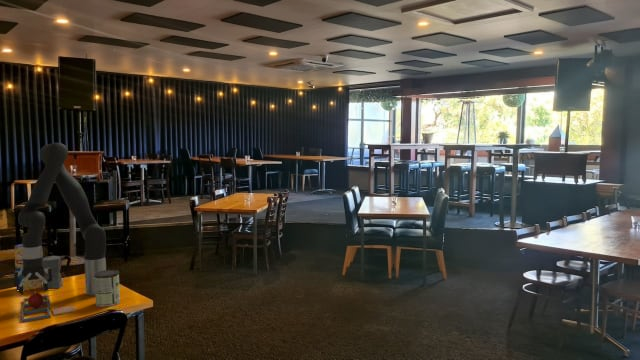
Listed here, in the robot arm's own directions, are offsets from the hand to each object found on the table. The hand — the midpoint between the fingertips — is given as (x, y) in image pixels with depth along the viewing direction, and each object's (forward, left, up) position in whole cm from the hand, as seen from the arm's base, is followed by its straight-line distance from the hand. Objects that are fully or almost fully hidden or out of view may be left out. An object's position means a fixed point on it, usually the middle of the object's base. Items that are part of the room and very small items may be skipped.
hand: (33, 293), depth 209 cm
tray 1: (+3, -10, -7) cm, 12 cm away
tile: (-14, +5, -7) cm, 16 cm away
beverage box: (+16, -34, -7) cm, 38 cm away
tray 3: (-5, +10, -7) cm, 13 cm away
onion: (-1, 0, -7) cm, 7 cm away
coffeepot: (+4, -34, -7) cm, 35 cm away
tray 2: (-1, 0, -7) cm, 7 cm away
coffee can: (-30, -3, -7) cm, 31 cm away
